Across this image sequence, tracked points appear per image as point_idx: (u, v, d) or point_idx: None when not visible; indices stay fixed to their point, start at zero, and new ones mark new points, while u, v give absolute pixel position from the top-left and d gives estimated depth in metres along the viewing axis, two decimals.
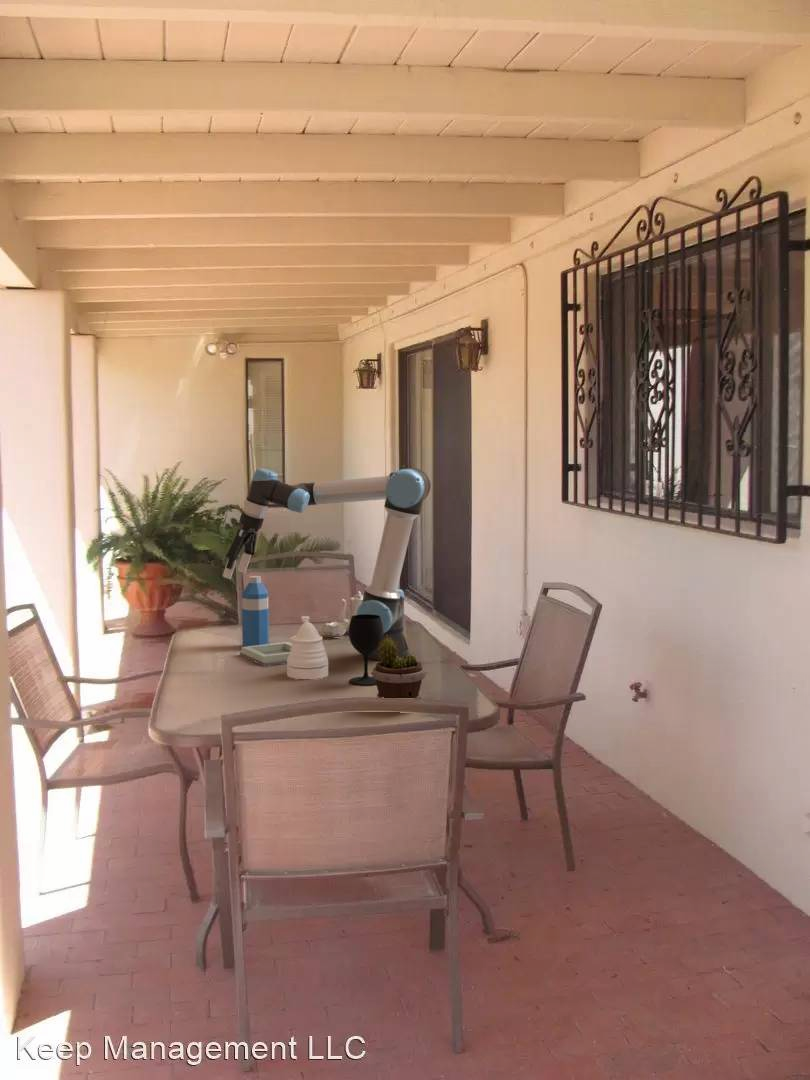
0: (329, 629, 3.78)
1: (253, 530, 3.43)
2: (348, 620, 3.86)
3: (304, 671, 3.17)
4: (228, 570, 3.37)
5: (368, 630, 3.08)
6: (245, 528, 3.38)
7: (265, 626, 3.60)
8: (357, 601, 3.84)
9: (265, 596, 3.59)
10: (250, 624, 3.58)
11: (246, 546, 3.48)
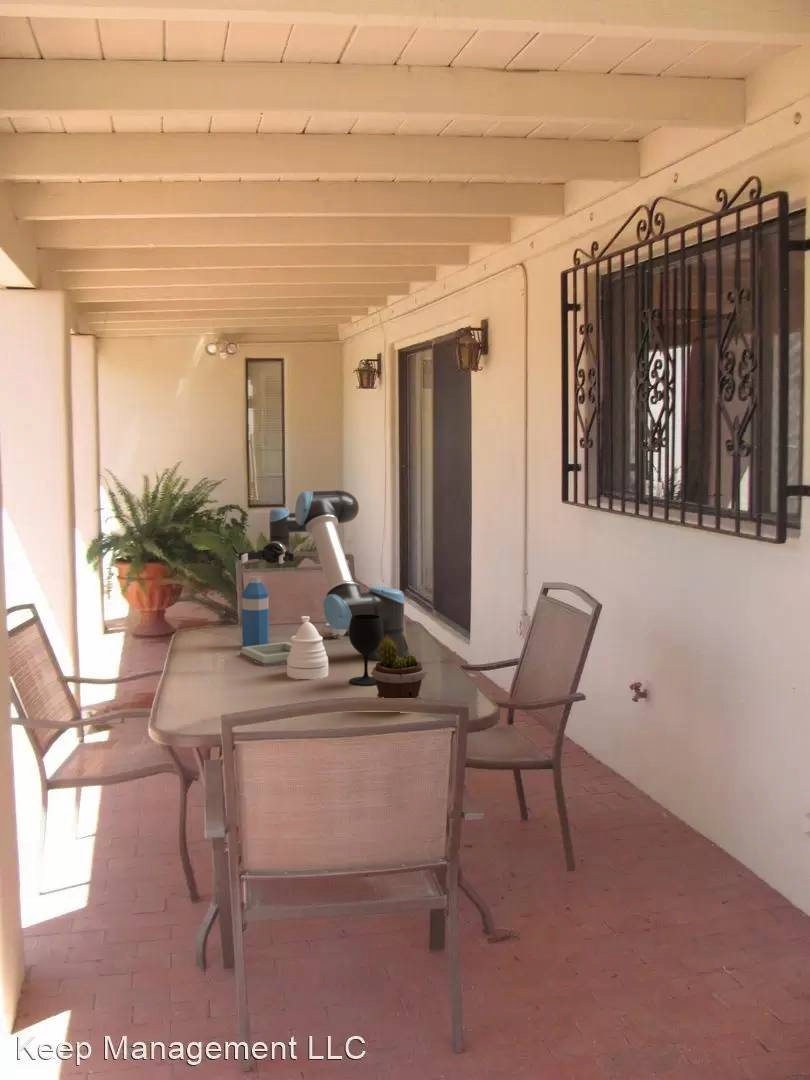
0: (329, 629, 3.78)
1: None
2: None
3: (304, 671, 3.17)
4: None
5: (368, 630, 3.08)
6: None
7: (265, 626, 3.60)
8: None
9: (265, 596, 3.59)
10: (250, 624, 3.58)
11: None
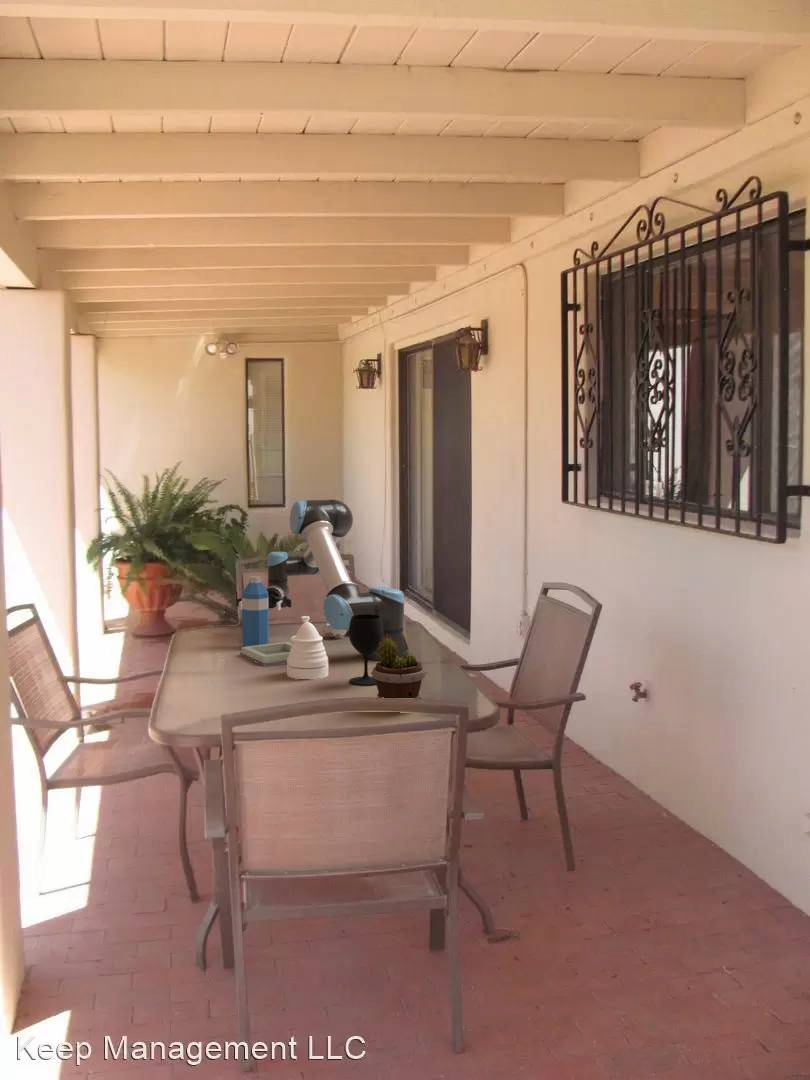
0: (330, 629, 3.77)
1: None
2: None
3: (304, 671, 3.17)
4: None
5: (368, 630, 3.08)
6: None
7: (265, 626, 3.60)
8: None
9: (265, 596, 3.59)
10: (250, 624, 3.58)
11: None
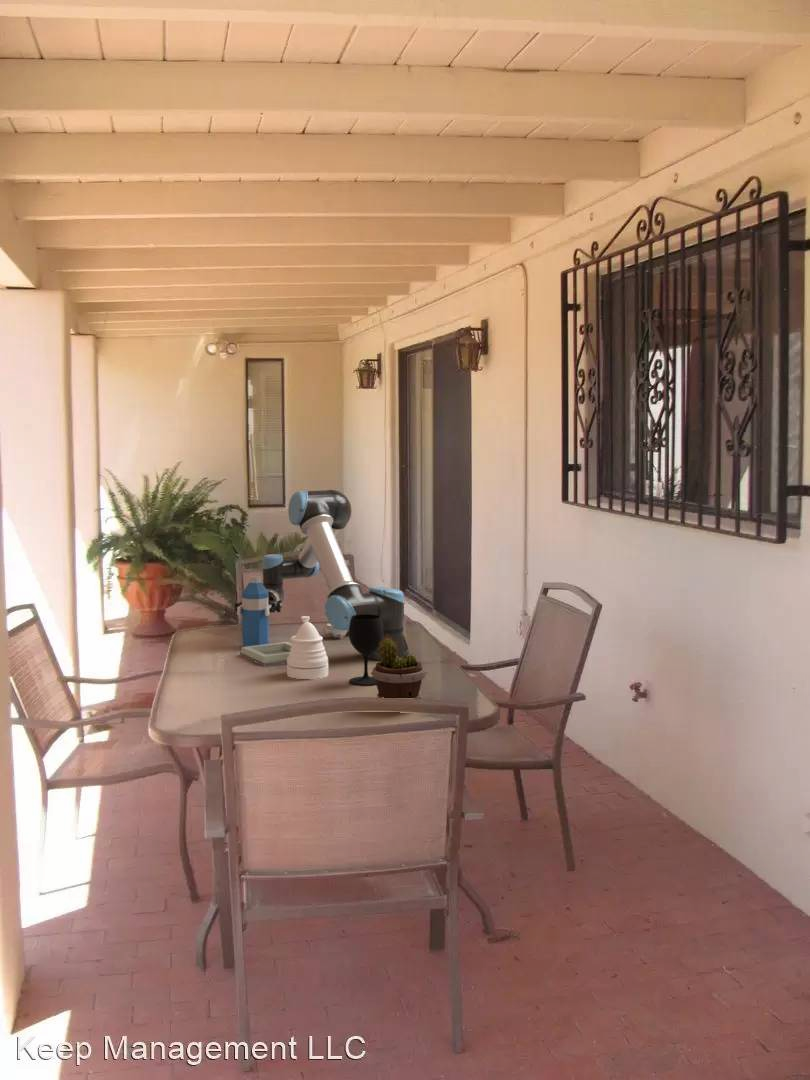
0: (330, 630, 3.77)
1: (269, 600, 3.74)
2: None
3: (304, 671, 3.17)
4: None
5: (368, 630, 3.08)
6: None
7: (265, 626, 3.60)
8: None
9: (265, 596, 3.59)
10: (250, 624, 3.58)
11: None
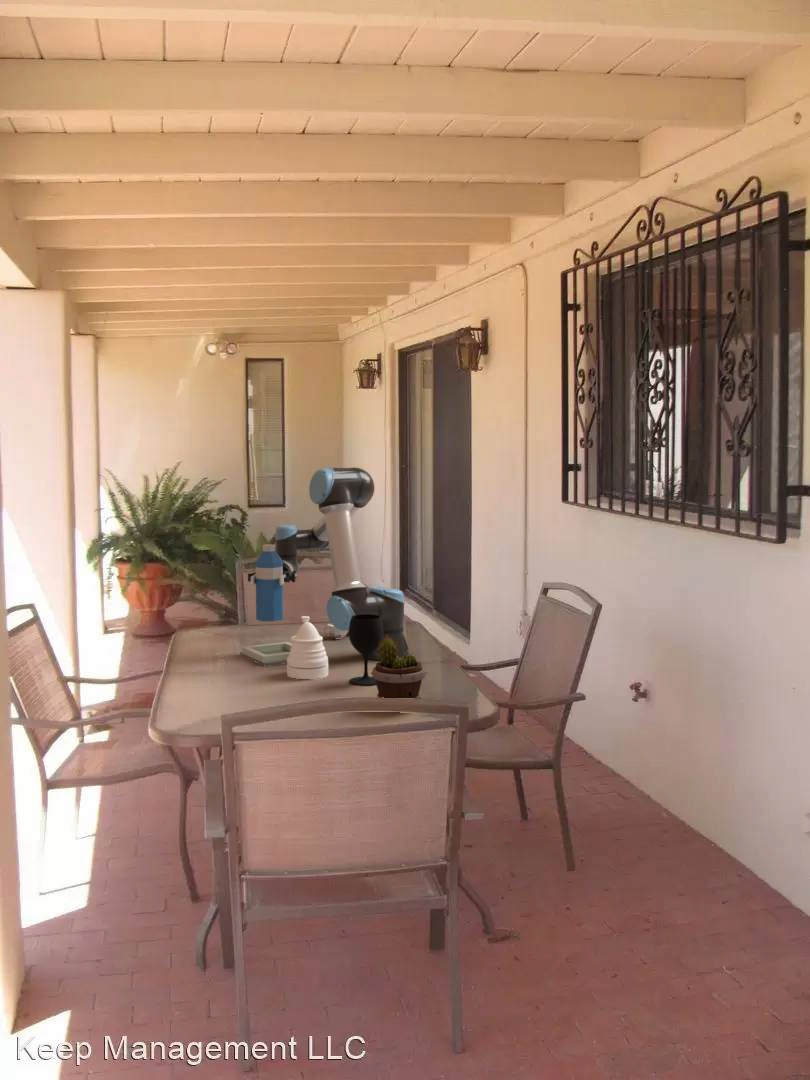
0: (331, 630, 3.76)
1: (283, 571, 3.61)
2: None
3: (304, 671, 3.17)
4: None
5: (368, 630, 3.08)
6: None
7: (279, 596, 3.47)
8: None
9: (279, 565, 3.46)
10: (264, 594, 3.44)
11: None
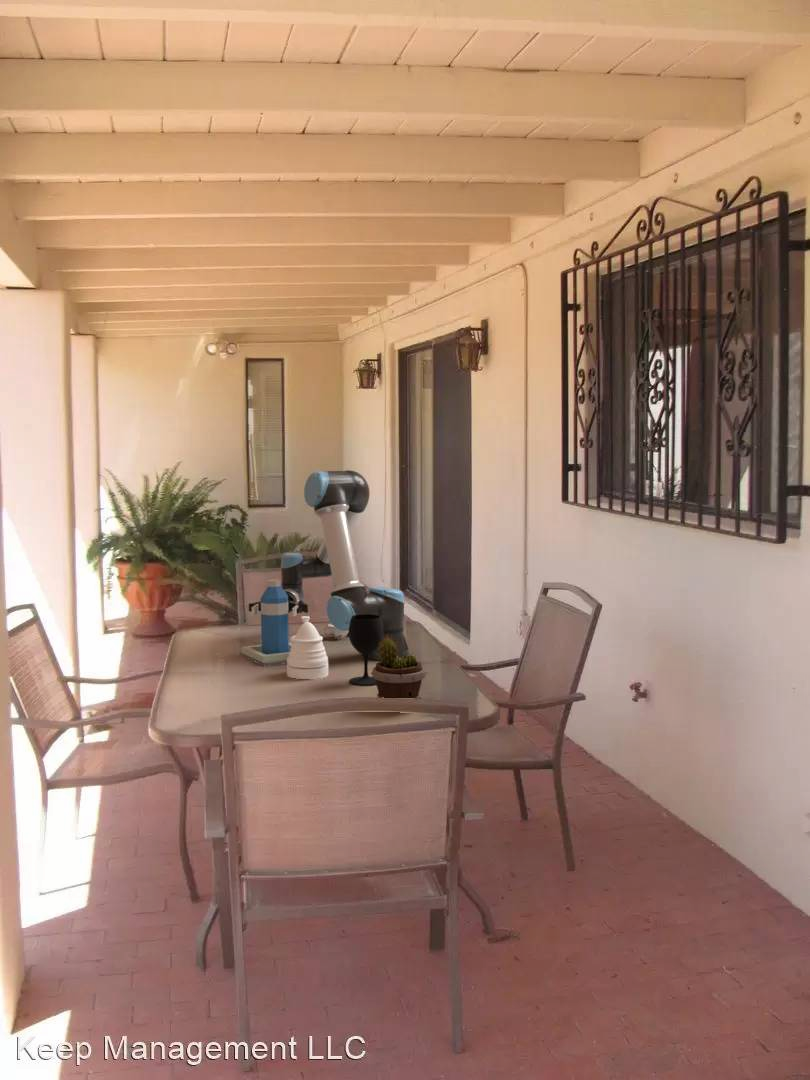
0: (331, 630, 3.76)
1: None
2: None
3: (304, 671, 3.17)
4: None
5: (368, 630, 3.08)
6: None
7: (285, 632, 3.44)
8: None
9: (285, 600, 3.43)
10: (270, 630, 3.42)
11: None
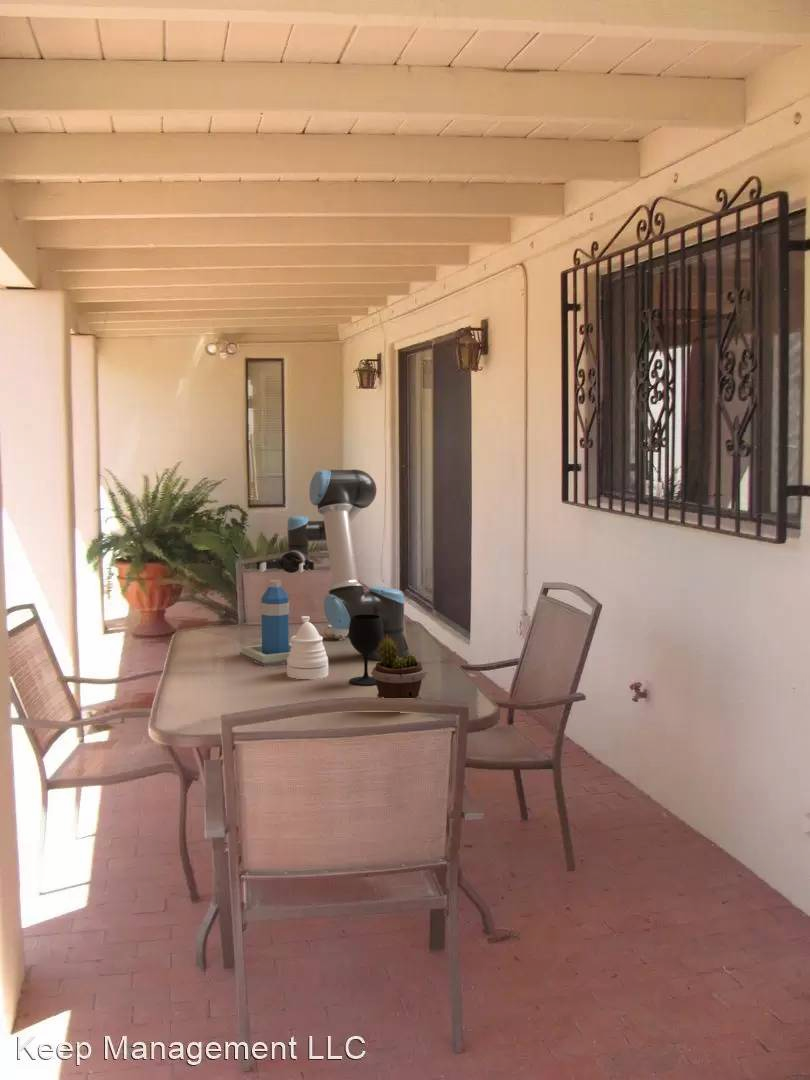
0: (332, 631, 3.75)
1: None
2: None
3: (304, 671, 3.17)
4: None
5: (368, 630, 3.08)
6: None
7: (285, 632, 3.44)
8: None
9: (285, 601, 3.43)
10: (270, 630, 3.42)
11: None
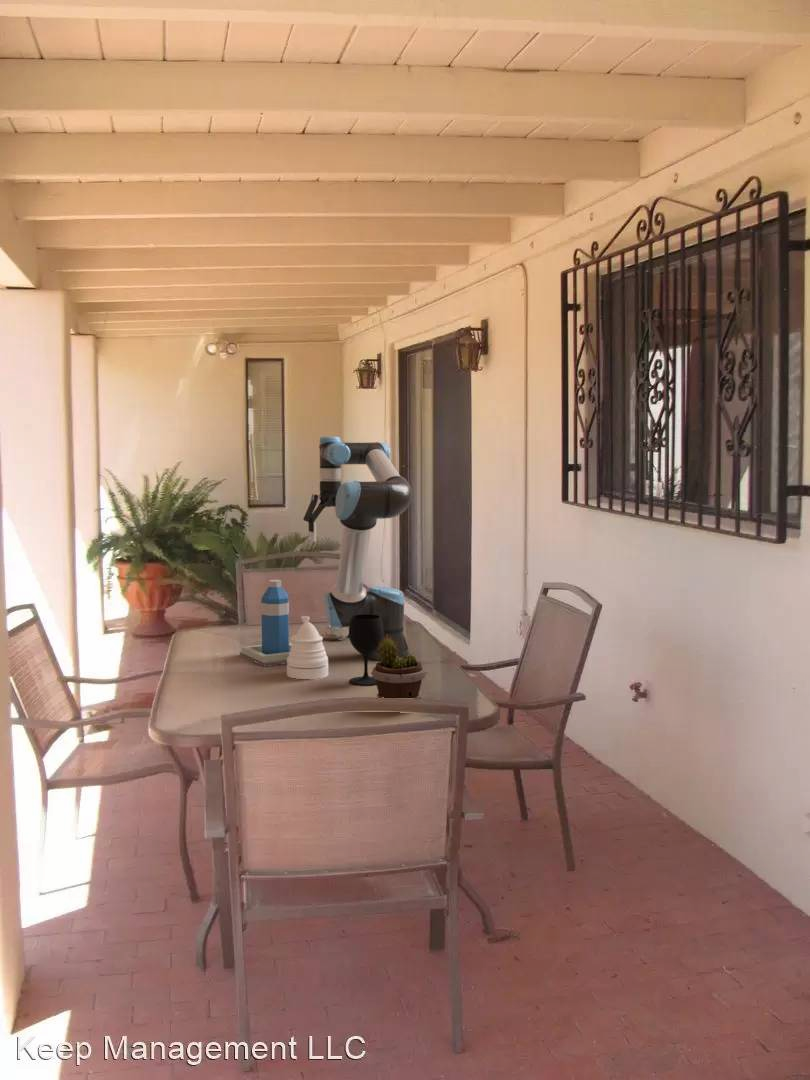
0: (332, 631, 3.75)
1: (336, 495, 3.68)
2: None
3: (304, 671, 3.17)
4: (312, 534, 3.65)
5: (368, 630, 3.08)
6: (321, 493, 3.65)
7: (285, 632, 3.44)
8: None
9: (286, 601, 3.43)
10: (270, 630, 3.42)
11: None
